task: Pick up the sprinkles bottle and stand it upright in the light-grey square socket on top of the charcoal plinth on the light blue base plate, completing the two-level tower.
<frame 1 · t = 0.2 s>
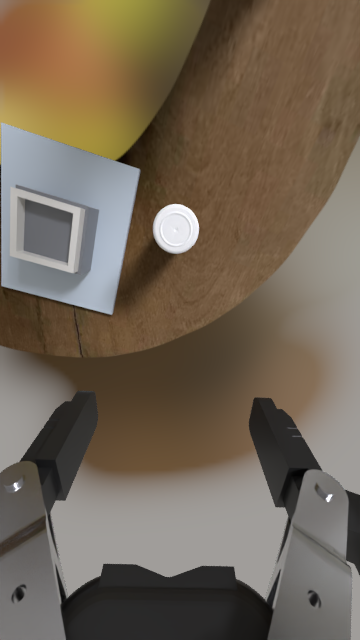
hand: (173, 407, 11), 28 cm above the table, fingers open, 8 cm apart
sprinkles bottle: (176, 230, 34), on the table
light blue base plate: (66, 232, 34), on the table
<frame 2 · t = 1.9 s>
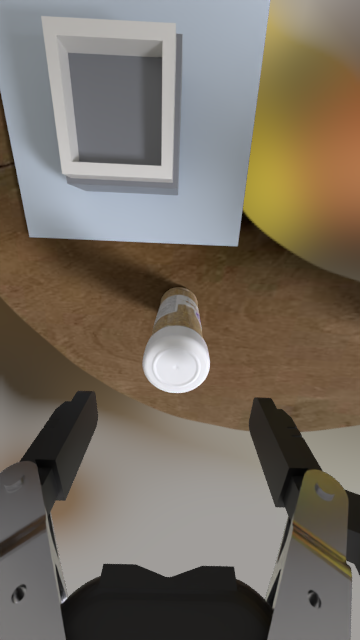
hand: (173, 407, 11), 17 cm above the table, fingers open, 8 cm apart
sprinkles bottle: (178, 303, 27), on the table
light blue base plate: (132, 139, 21), on the table
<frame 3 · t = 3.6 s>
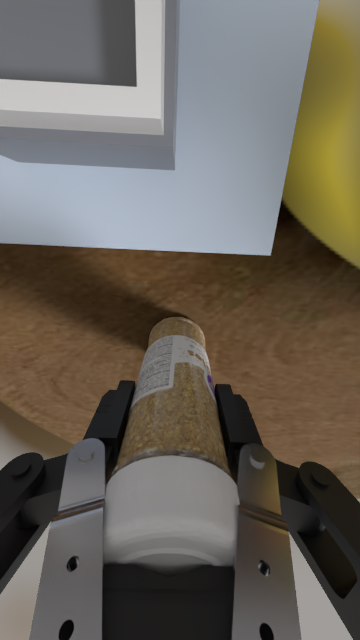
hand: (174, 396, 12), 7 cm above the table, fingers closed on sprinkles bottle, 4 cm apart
sprinkles bottle: (176, 339, 18), on the table, touching gripper
light blue base plate: (94, 70, 12), on the table
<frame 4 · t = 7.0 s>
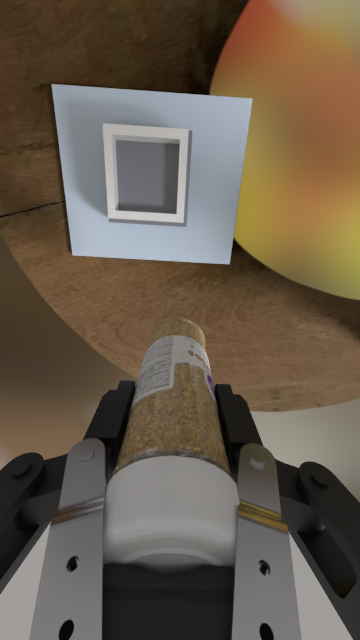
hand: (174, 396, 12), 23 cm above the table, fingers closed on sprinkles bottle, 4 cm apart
sprinkles bottle: (176, 339, 18), point 17 cm above the table, touching gripper
light blue base plate: (152, 186, 29), on the table
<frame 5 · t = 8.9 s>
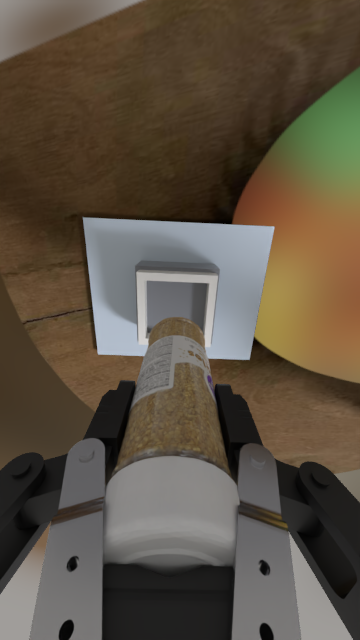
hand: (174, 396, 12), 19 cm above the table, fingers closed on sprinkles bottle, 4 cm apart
sprinkles bottle: (176, 339, 18), point 13 cm above the table, touching gripper
light blue base plate: (176, 295, 30), on the table
when the fingers open (12 cm above the table, at t = 10.5 s): sprinkles bottle stays where it is, resting on light blue base plate.
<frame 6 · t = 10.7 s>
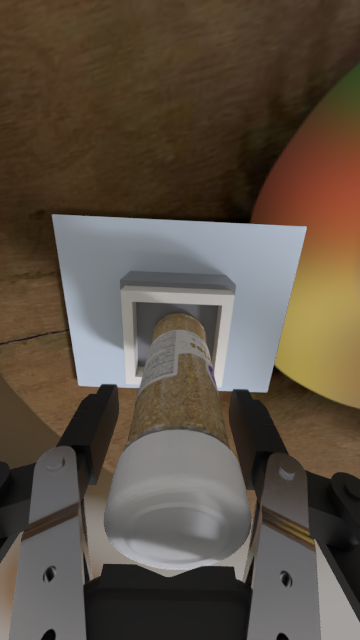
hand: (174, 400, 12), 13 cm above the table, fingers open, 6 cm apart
sprinkles bottle: (178, 334, 19), point 5 cm above the table, touching light blue base plate
light blue base plate: (176, 314, 23), on the table
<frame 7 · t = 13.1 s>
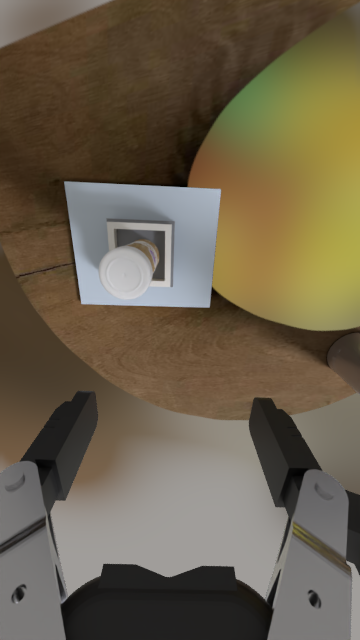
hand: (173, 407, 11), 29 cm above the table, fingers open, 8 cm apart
sprinkles bottle: (143, 255, 32), point 5 cm above the table, touching light blue base plate
light blue base plate: (145, 251, 36), on the table
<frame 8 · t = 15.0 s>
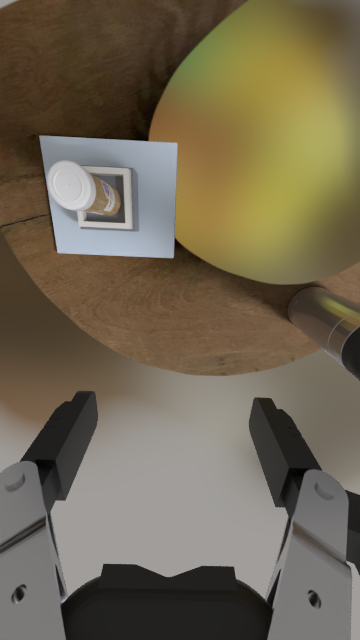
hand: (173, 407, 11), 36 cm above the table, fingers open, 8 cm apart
sprinkles bottle: (107, 200, 36), point 5 cm above the table, touching light blue base plate
light blue base plate: (113, 202, 40), on the table
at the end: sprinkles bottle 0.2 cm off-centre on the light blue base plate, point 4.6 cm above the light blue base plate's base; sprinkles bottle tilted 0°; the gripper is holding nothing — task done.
